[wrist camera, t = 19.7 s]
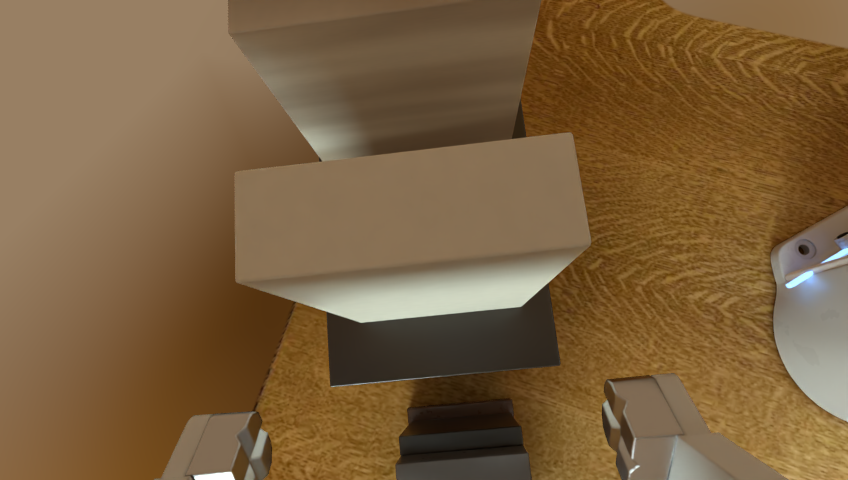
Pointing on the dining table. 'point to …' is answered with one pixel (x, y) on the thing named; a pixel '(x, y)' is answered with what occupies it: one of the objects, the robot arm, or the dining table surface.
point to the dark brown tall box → (405, 143)
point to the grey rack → (463, 443)
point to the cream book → (413, 228)
